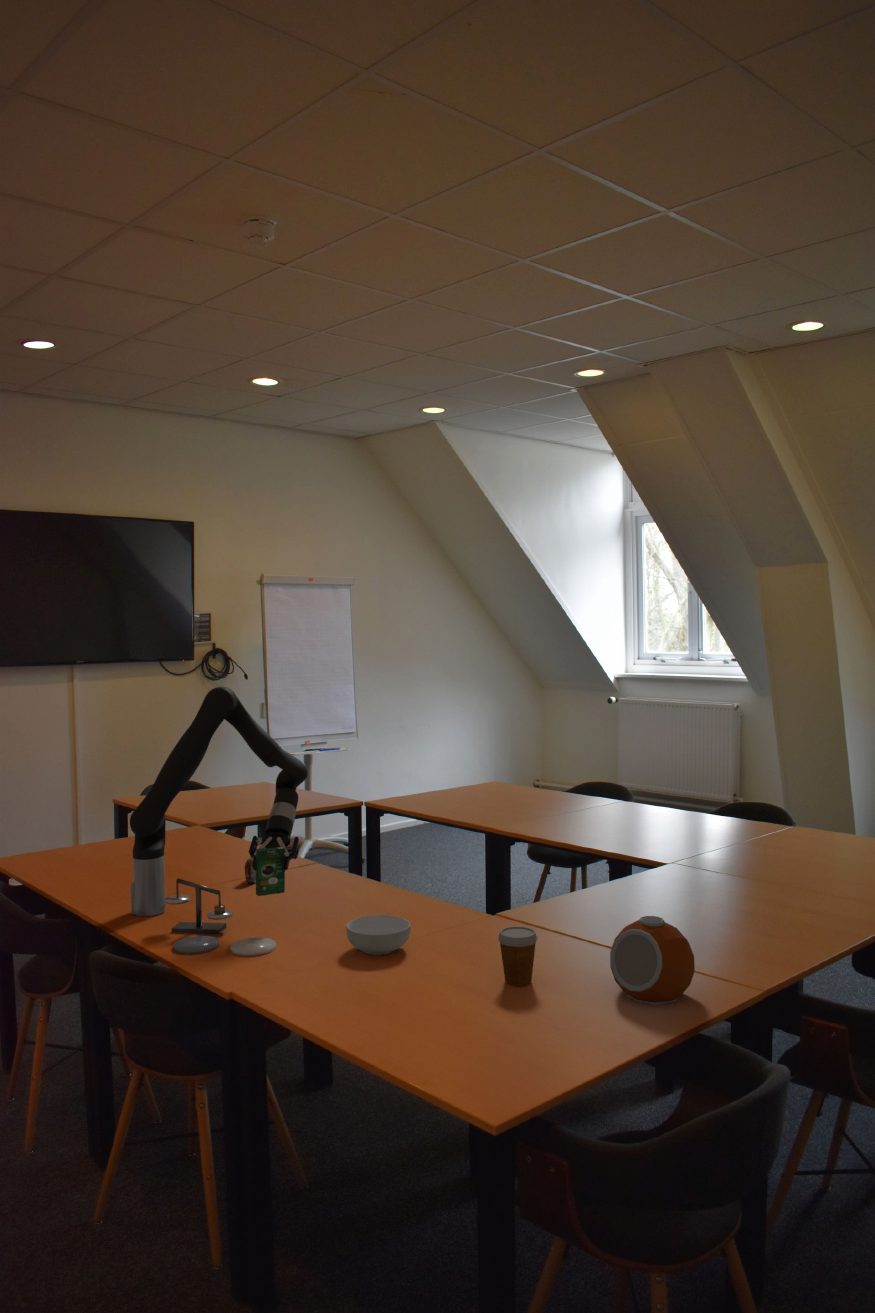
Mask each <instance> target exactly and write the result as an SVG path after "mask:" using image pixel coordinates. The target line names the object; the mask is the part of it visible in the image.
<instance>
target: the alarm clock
mask: <svg viewBox="0 0 875 1313" xmlns="http://www.w3.org/2000/svg"><path fill="white" fill-rule="evenodd" d="M609 954H610V955H609V957H610V958H609V959H610V960H609V961H610V962H609V964H610V970H611V972H612V976H613V979H614V981H615V983H616V984H617V985H618V987H619V988H620V989H621V990H622V991H623V993H624V994H625V996H626V997H628V998H630V999H632V1000H634V1001H636V1002H638V1003H644V1004H650V1005H661V1004H662V1005H663V1004H670V1003H673V1002H676V1001H678V1000H679V999H680V997H681V996H683V994H684V993H685V992H686V991H687V989H688V988H689V987H690V986H691V983H692V980H693V977H694V974H695V970H696V969H695V954H694V952H693V950H692V946H691V944H690V942H689V941H688V939H687V938H686V937H685V935H684V934H683V933H682V932H681V931H680V930H679V929H678V928H677V927H676V926H673V925H672V924H670V923H668V922H666V921H665V920H664V919H663V917H659V916H656V915H655V916H654V915H645V916H641V917H640V918H639V919H638V920H635V921H634V922H632V923H630V924H627V925H626V926H624V927H623V928H622V929H621V930H620V932H619V933H618V934H617V935H616V937H615V938H614V941H613V943H612V947H611V949H610V951H609Z"/></svg>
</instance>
